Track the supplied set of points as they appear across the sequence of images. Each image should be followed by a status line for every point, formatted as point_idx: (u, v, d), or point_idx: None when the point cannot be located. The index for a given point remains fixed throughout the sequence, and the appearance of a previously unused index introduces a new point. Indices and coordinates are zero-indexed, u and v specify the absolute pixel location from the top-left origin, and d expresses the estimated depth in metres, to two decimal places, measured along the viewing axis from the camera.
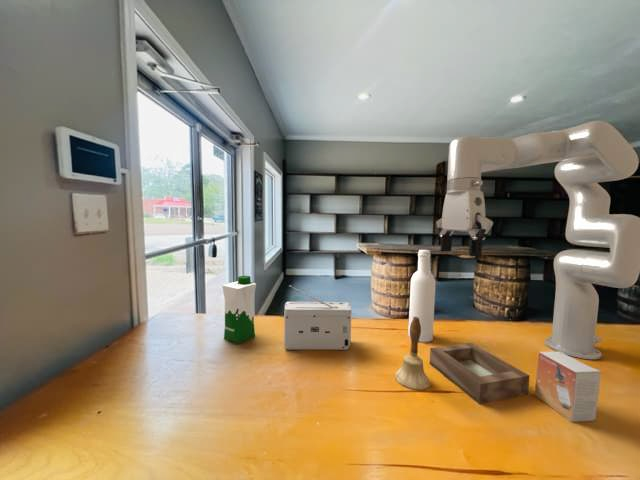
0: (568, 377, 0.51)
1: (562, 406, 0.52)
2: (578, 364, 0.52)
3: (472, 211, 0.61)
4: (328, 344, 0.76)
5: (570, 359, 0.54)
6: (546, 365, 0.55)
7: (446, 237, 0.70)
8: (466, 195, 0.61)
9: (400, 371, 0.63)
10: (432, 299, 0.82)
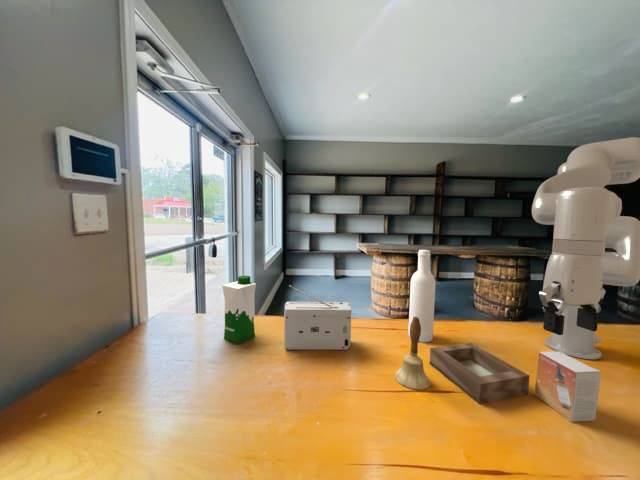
0: (568, 377, 0.51)
1: (562, 406, 0.52)
2: (578, 364, 0.52)
3: None
4: (328, 344, 0.76)
5: (570, 359, 0.54)
6: (546, 365, 0.55)
7: None
8: (601, 262, 0.51)
9: (400, 371, 0.63)
10: (432, 299, 0.82)
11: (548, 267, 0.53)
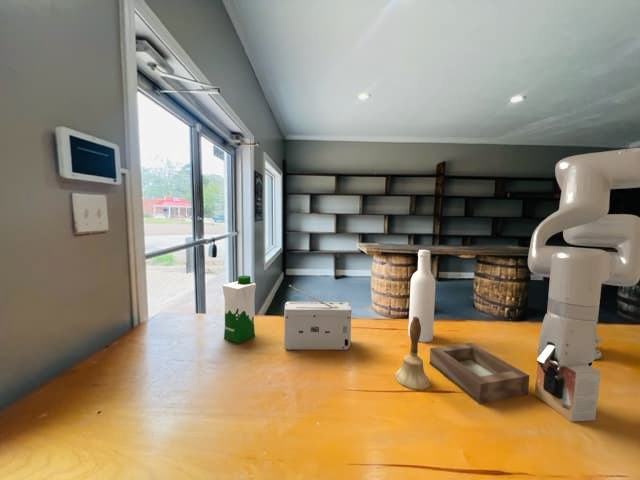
0: (568, 377, 0.51)
1: (562, 405, 0.52)
2: None
3: None
4: (328, 344, 0.76)
5: None
6: None
7: None
8: (595, 323, 0.52)
9: (400, 371, 0.63)
10: (432, 299, 0.82)
11: (543, 326, 0.54)
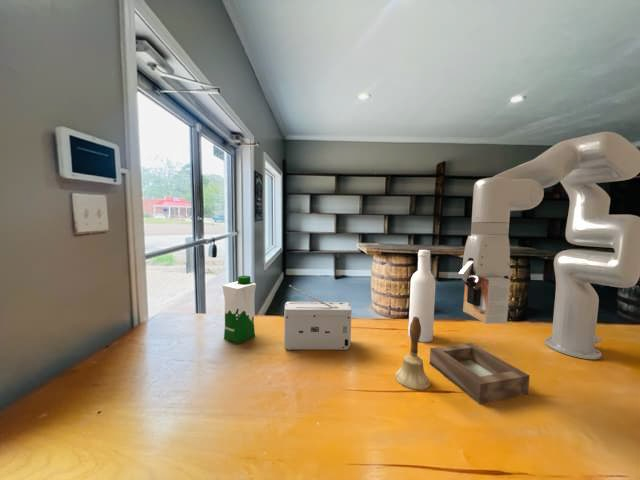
0: (484, 286, 0.59)
1: (480, 312, 0.60)
2: None
3: None
4: (328, 344, 0.76)
5: None
6: None
7: None
8: (508, 241, 0.60)
9: (400, 371, 0.63)
10: (432, 299, 0.82)
11: (466, 246, 0.62)
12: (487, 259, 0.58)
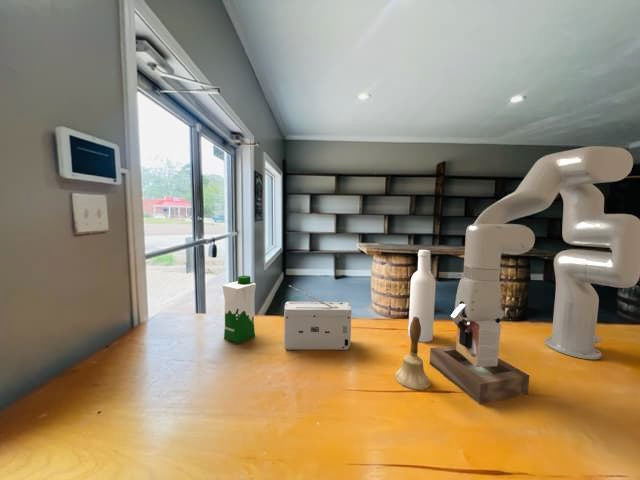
0: (475, 329, 0.60)
1: (471, 354, 0.61)
2: (485, 320, 0.62)
3: None
4: (328, 344, 0.76)
5: None
6: None
7: None
8: (499, 285, 0.61)
9: (400, 371, 0.63)
10: (432, 299, 0.82)
11: (458, 289, 0.63)
12: (478, 304, 0.60)
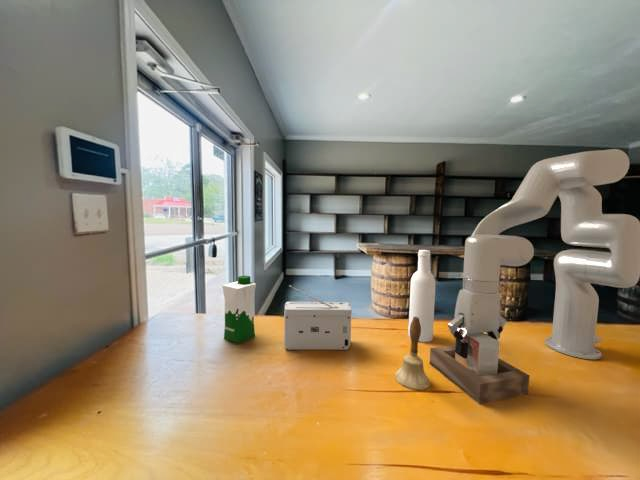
0: (474, 347, 0.60)
1: None
2: (484, 336, 0.62)
3: None
4: (328, 344, 0.76)
5: (479, 333, 0.64)
6: None
7: None
8: (498, 297, 0.62)
9: (400, 371, 0.63)
10: (432, 299, 0.82)
11: (457, 300, 0.63)
12: (477, 316, 0.60)
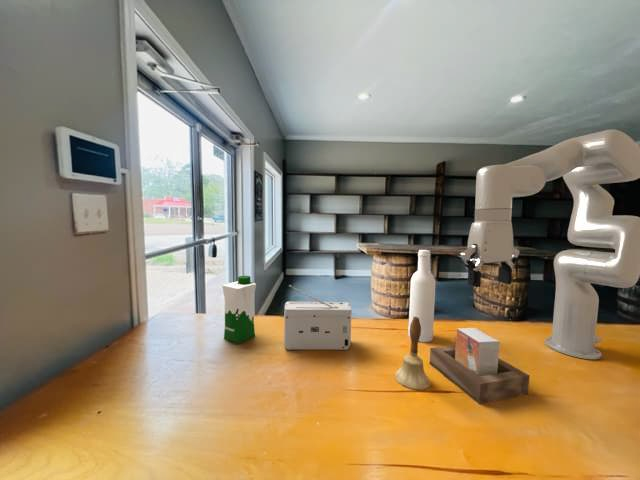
0: (474, 347, 0.60)
1: None
2: (484, 336, 0.62)
3: None
4: (328, 344, 0.76)
5: (479, 333, 0.64)
6: (461, 339, 0.65)
7: None
8: (511, 226, 0.62)
9: (400, 371, 0.63)
10: (432, 299, 0.82)
11: (470, 233, 0.64)
12: (491, 244, 0.60)
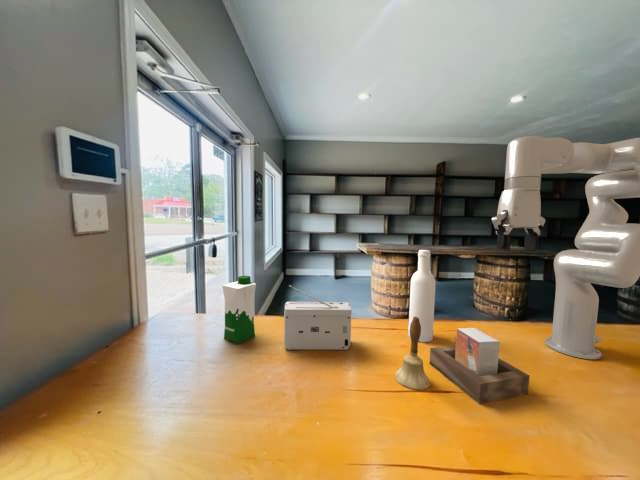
0: (474, 347, 0.60)
1: None
2: (484, 336, 0.62)
3: None
4: (328, 344, 0.76)
5: (479, 333, 0.64)
6: (461, 339, 0.65)
7: None
8: (539, 194, 0.66)
9: (400, 371, 0.63)
10: (432, 299, 0.82)
11: (500, 201, 0.68)
12: (521, 210, 0.65)
